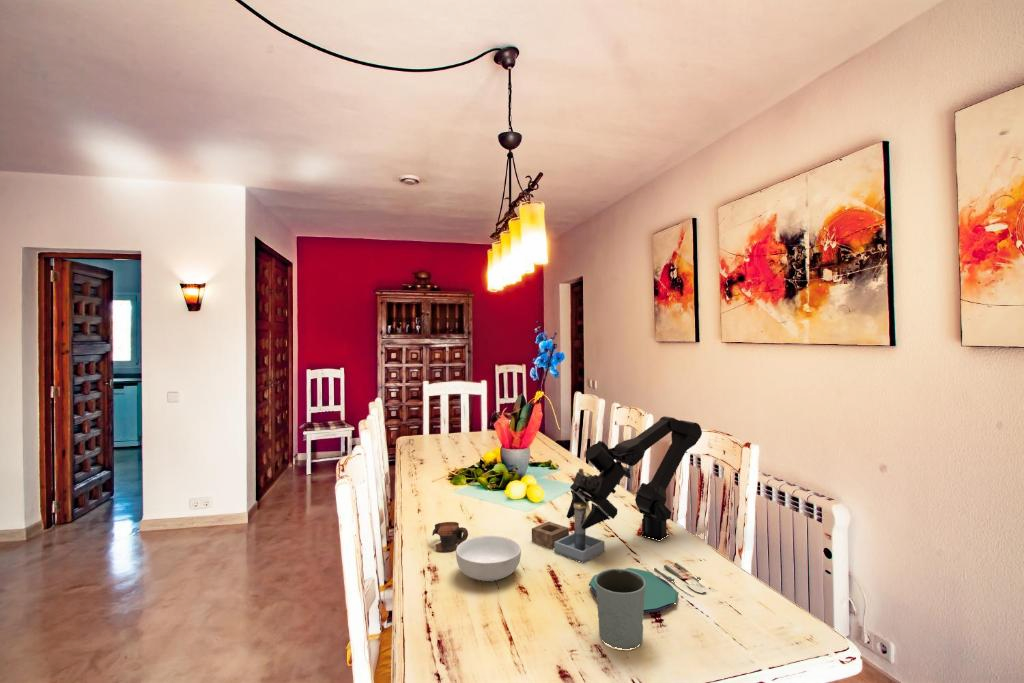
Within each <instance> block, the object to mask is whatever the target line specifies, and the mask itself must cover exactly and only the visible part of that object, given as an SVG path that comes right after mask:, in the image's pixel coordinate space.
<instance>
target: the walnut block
mask: <svg viewBox="0 0 1024 683" xmlns="http://www.w3.org/2000/svg"><path fill="white" fill-rule="evenodd" d="M568 535H570V528H569V527H567V526H564V525H562V524H558V523H555V522H552V521H547V522H544V523H542V524H539V525H536V526H534V527H532V528H531V543H534V544H537V545H540V546H542V545H543V546H542V547H545V548H547V547H548V549H550V550H554V549H553V548H554V542H555V541H558V540H560V539H562V538H564V537H566V536H568Z"/></svg>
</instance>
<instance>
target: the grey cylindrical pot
mask: <svg viewBox="0 0 1024 683" xmlns="http://www.w3.org/2000/svg"><path fill="white" fill-rule="evenodd" d="M625 569H626V568H608V569H604V570H601V571H600V572H599V573H597V575H596V574H595V575H596V577H595V587H596V594H597V598H596V601H597V607H596V608H597V617H598V631H599V632H598V633H599V638H600V637H601V638H600V640H601V639H602V640H603V641H604V642H605V643H607V644H609V645H611V646H613V647H617V648H622V649H630V648H635V647H637V646H638V645H639V644H641V645H642V643H643V639H644V638H643V636H644V624H643V622H644V613H643V610H644V598H645V586H646V583H645V580H644V578H643V577H642V576H641V575H639V574H637V573H635V572H633V571H630V570H625ZM641 642H642V643H641Z"/></svg>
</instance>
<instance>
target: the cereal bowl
mask: <svg viewBox="0 0 1024 683" xmlns="http://www.w3.org/2000/svg"><path fill="white" fill-rule="evenodd" d="M521 556H522V548H521V545H520V544H519V542H517V541H516V540H513V539H511V538H508V537H507V536H506V537H504V536H501V535H480V536H479V535H478V536H474V537H471V538H467V539H466V540H465V541H463V542H462V543H460V544H459V545H457V546H456V549H455V558H456V563H457V566H458V568H459V569H460V571H461V572H462V573H463V574H464V575H465V576H467V577H469V578H471V579H474V580H477V581H480V580H482V581H481V582H484V581H491V582H495V581H494V580H496V581H498V579H499V580H501V579H504V578H506V577H508V576H510V575H511V574H513V573H514V572H515V571H516V569H517V568H518V566H519V564H520V562H521V561H520V560H521Z"/></svg>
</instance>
